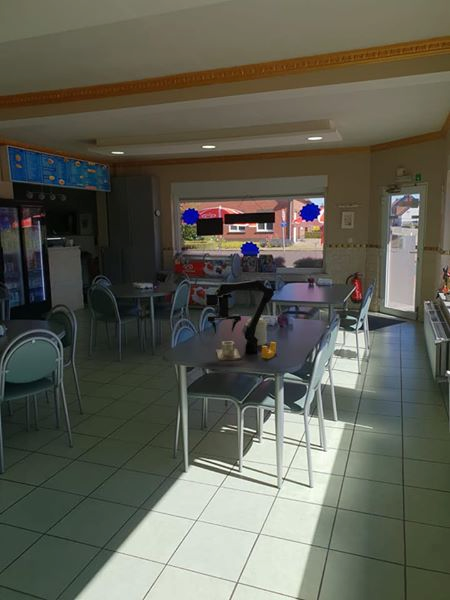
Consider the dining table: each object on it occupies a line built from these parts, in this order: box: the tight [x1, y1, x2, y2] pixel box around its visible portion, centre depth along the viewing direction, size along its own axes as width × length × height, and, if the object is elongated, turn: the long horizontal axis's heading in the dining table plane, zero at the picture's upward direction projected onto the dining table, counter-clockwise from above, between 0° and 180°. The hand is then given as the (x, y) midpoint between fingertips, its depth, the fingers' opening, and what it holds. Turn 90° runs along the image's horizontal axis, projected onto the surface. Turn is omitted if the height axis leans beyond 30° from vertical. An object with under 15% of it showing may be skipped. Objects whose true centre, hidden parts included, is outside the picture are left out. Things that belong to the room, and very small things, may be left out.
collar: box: [221, 340, 235, 355], centre depth 260 cm, size 6×6×6 cm
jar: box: [245, 317, 268, 347], centre depth 285 cm, size 13×13×18 cm
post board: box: [215, 348, 242, 361], centre depth 260 cm, size 12×18×6 cm, turn 6°
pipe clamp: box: [261, 341, 277, 360], centre depth 260 cm, size 12×4×6 cm, turn 148°
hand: (223, 332), depth 262 cm, fingers open, 9 cm apart
